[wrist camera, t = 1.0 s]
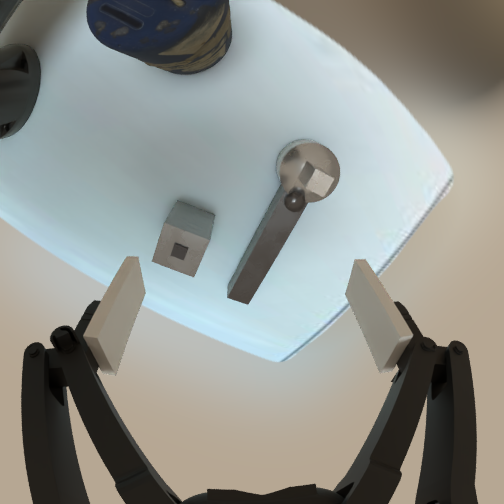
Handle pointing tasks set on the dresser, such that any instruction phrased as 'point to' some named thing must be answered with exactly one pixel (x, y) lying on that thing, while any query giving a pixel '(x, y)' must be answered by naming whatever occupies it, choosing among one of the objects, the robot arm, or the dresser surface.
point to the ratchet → (285, 210)
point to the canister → (164, 31)
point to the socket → (184, 238)
